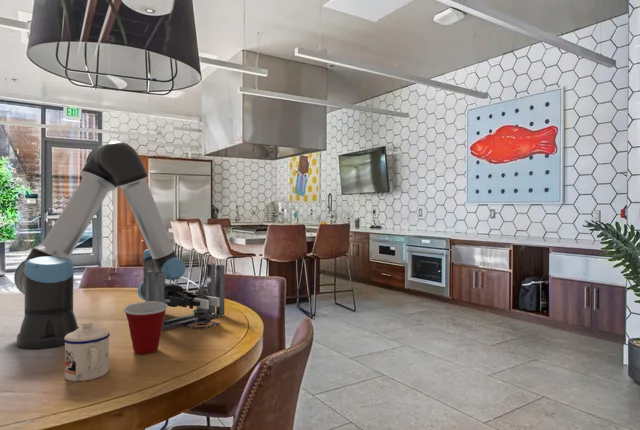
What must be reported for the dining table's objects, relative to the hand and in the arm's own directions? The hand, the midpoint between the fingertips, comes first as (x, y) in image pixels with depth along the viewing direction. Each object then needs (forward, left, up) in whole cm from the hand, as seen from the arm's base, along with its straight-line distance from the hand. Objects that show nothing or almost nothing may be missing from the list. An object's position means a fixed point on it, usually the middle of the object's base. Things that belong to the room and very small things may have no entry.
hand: (213, 303), depth 133 cm
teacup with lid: (-43, +9, -8) cm, 44 cm away
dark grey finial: (+2, +5, -7) cm, 9 cm away
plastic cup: (-25, +7, -8) cm, 27 cm away
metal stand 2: (+5, +10, -8) cm, 13 cm away
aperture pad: (+2, +5, -8) cm, 9 cm away
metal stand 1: (+7, +14, -8) cm, 18 cm away
